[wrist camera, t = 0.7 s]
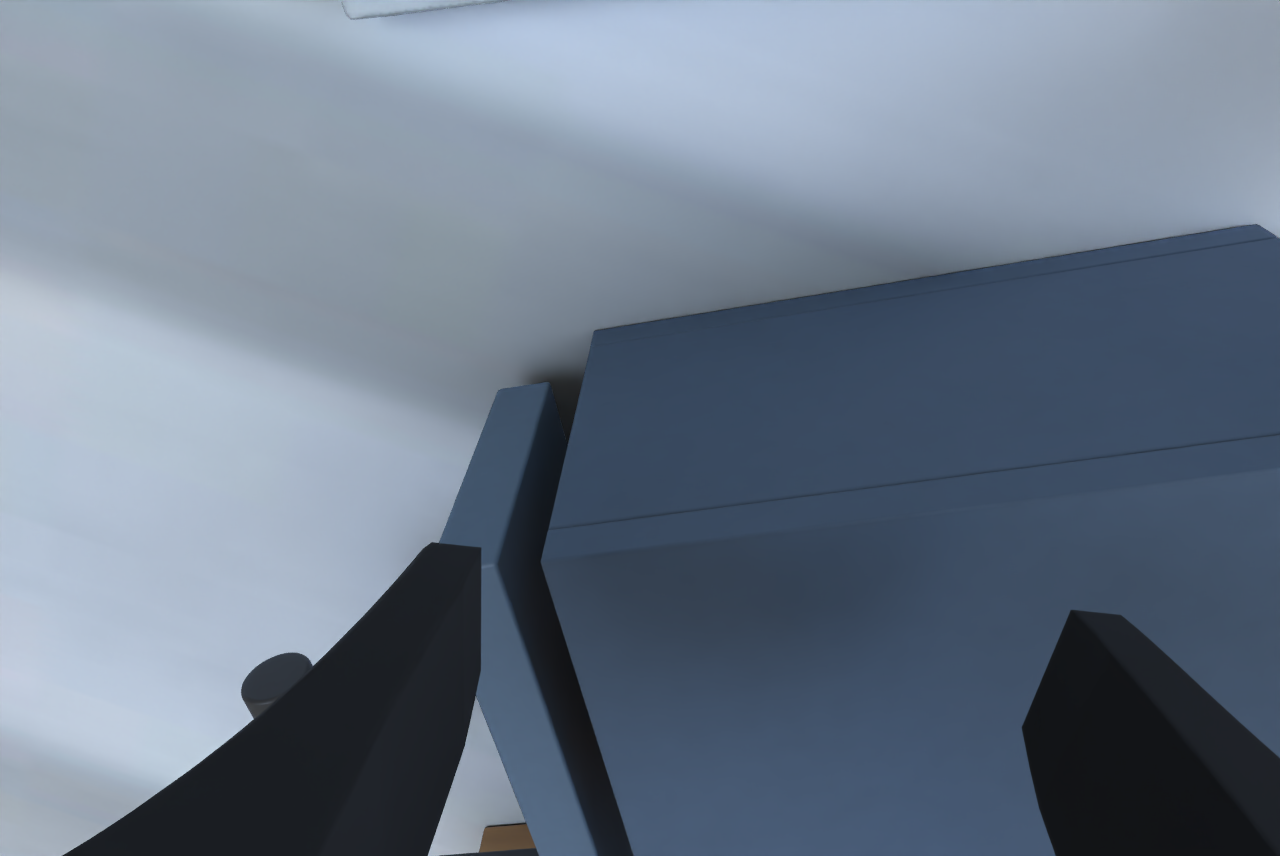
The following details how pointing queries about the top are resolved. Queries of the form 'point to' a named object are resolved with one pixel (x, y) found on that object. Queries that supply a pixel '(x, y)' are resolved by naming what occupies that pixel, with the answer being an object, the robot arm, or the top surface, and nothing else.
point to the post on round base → (506, 838)
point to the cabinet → (913, 538)
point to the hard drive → (401, 6)
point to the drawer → (517, 636)
